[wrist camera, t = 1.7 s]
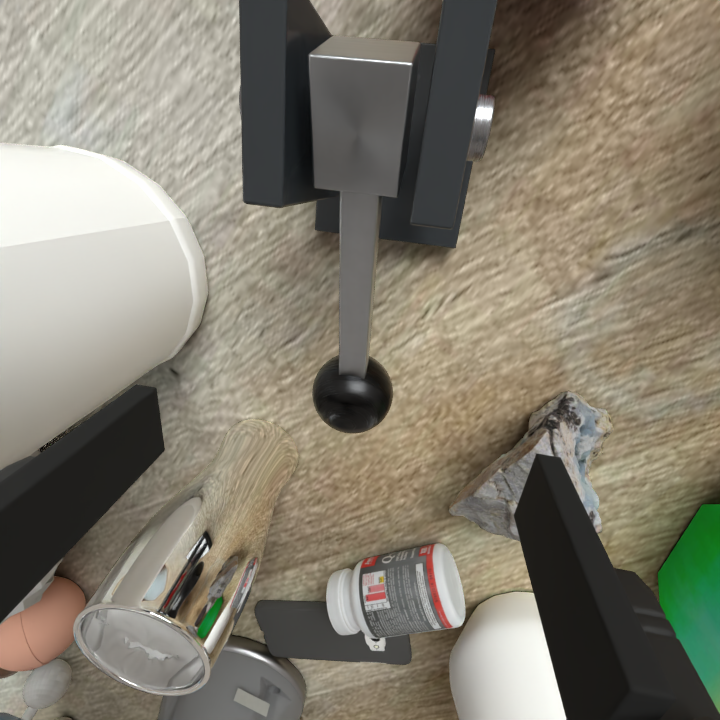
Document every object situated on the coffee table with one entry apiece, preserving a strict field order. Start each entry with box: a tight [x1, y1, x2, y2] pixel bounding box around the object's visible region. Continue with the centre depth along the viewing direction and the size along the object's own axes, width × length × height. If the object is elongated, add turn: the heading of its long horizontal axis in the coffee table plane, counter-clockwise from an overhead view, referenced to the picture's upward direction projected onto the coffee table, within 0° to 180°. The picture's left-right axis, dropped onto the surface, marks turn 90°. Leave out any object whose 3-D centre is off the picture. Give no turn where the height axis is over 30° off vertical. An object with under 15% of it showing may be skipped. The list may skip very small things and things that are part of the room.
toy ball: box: [0, 576, 86, 671], centre depth 40 cm, size 8×8×8 cm
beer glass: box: [73, 419, 299, 696], centre depth 25 cm, size 7×7×15 cm
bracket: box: [239, 0, 498, 248], centre depth 15 cm, size 9×8×15 cm
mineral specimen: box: [448, 391, 613, 541], centre depth 26 cm, size 10×8×10 cm
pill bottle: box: [326, 543, 465, 639], centre depth 32 cm, size 6×6×10 cm
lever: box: [308, 35, 421, 433], centre depth 14 cm, size 14×4×4 cm, turn 174°
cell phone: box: [255, 600, 412, 665], centre depth 39 cm, size 8×15×1 cm, turn 99°
